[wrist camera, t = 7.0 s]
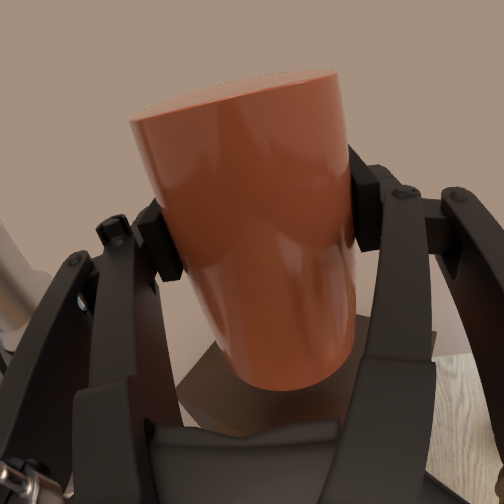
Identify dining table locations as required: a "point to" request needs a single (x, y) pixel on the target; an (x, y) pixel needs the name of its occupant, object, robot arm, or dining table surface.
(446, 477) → the dining table surface
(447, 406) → the dining table surface
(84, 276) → the robot arm
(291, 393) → the stand
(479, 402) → the dining table surface
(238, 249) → the orange cylinder
